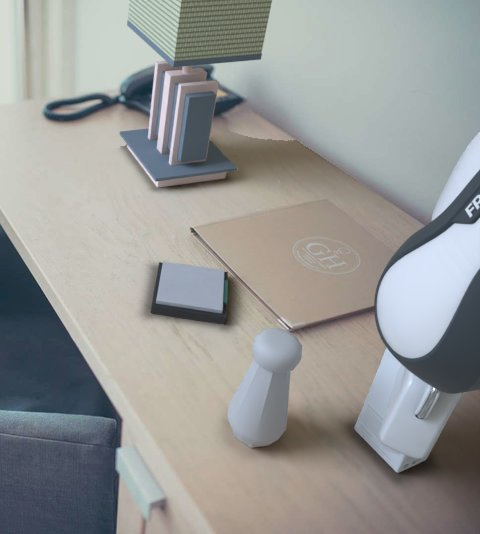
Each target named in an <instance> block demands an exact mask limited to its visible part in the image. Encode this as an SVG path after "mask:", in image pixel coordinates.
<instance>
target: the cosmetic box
mask: <svg viewBox="0 0 480 534" xmlns="http://www.w3.org/2000/svg"><path fill="white" fill-rule="evenodd" d="M400 366H401V363H400V362H399V361H398V360H397V359H396V358H395V357H394V356H393V355H392V354H391V352H390V351H389V350H388V349H387V347H386V346H385V350H384V353H383V355H382V357H381V360H380V362H379V365H378V367H377V370H376V373H375V375H374V378H373V380H372V382H371V385H370V388H369V390H368V392H367V395H366V397H365V400H364V402H363V404H362V408H361V410H360V412H359V415H358V418H357V420H356V422H355V425H354V427H353V429H354V431H355V432H356V433H357V434H358V435H359V436H360V437H361V438H362V439H363V440H364V441H365V442H366V443H367V444H368V445H369V446H370V447H371V448H372V449H373V450H374V451H375V452H376V453H377V454H378V455H379V456H380V457H381V458H382V459H383V461H385V462H386V464H387V465H389V466H390V467H391V469H392V470H393V471H394V472H395V473H396V474H399V473H401V472H403V471H405V470H408V469H410V468H412V467H415V466H416V465H419V464H421V463H422V462H425V461H427V459H428V458H429V456H430V454H431V452H432V450H433V448H434V446H435V445H436V443H437V441H438V439H439V438H440V435H441V434H442V432H443V430H444V428H445V426H446V425H447V422H448V421H449V419H450V417H451V415H452V414H453V411H454V409H455V408H456V406H457V404H458V402H459V400H460V399H461V397H462V395H463V393H464V392H462V393H457V396H456V399H455V401H454V404H453V406H452V409H451V411H450V413H449V415H448V417H447V419H446V421H445V423H444V425H443V427H442V429H441V431H440V433H439V435H438V436H437V438H436V440H435V442H434V444H433V446H432V447H431V449H430V451H429V453H428V454H427V455H426V456H425V457H424V458H422V459H415V458H412V457H409V456H406V455H404V454H401V453H400V454H395V453H392V452H390V451H388V450H386V449H383V448H382V447H381V442H380V441H379V433H380V429H381V425H382V422H383V418H384V415H385V412H386V408H387V405H388V401H389V398H390V394H391V391H392V388H393V384H394V381H395V377H396V374H397V371H398V369H399V367H400Z"/></svg>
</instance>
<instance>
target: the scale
mask: <svg viewBox="0 0 480 534" xmlns="http://www.w3.org/2000/svg"><path fill="white" fill-rule="evenodd" d="M228 276H229V272H228V271H225V269H219V268H212V267H205V266H198V265H190V264H184V263H178V262H170V261H162V262H160V261H159V262H158V267H157V271H156V278H155V283H154V289H153V293H152V300H151V306H150V314H153V315H154V314H155V315H161V316H167V317H174V318H181V319H186V320H194V321H200V322H205V323H206V322H207V323H213V324H219V325H225V323H226V321H227V320H226V319H227V306H228V305H227V304H228V292H229V291H228V288H229V279H228V278H229V277H228Z"/></svg>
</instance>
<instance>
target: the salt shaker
mask: <svg viewBox="0 0 480 534" xmlns="http://www.w3.org/2000/svg"><path fill="white" fill-rule="evenodd" d="M251 354H252V357H253V361H252V362H251V364H250V366H249V367H248V369H247V371H246V373H245V375H244V377H243V378H242V380H241V381H240V384H239V386H238V387H237V389H236V391H235V392H234V394H233V396H232V397H231V400H230V401H229V403H228V407H227V420H228V422H229V425H230V428H231V430H232V433H233V437H234V438H235V439H236V440H238V441H239V442H241V443H242V444H244V445H246V446H247V447H249V448H250V449H254V448H260V447H267V446H270V445H271V444H273V443H275V442H277V441H278V440H280V438H281V436H283V434H284V432H285V431H286V430H287V427H288V426H287V425H288V413H289V412H288V411H289V400H290V399H289V398H290V385H291V384H290V383H291V372H292V371H294V370H295V369H296V368H297V366H298V365H299V364H300V362H301V360H302V358H303V357H302V354H303V344H302V343H301V341H300V340H299V338H298V337H297V336H296V335H294V334H293V333H292V332H291V331H289V330H286V329H283V328H281V327H280V328H278V327H269V328H266V329H263V330H260V332H259V333H258V334H257V335H255V337H254V339H253V343H252V349H251Z"/></svg>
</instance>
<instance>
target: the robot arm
mask: <svg viewBox="0 0 480 534" xmlns="http://www.w3.org/2000/svg"><path fill="white" fill-rule="evenodd" d="M373 304H374V305H373V312H374V320H375V325H376V329H377V333H378V335H379V338H380V339H381V341H382V343H383V345H384V346H385V348H386V347H387V349H388V350H389V351H390V352H391V354H392V355H393V356H394V357H395V358H396V359H397V360H398V361H399V362H400V363H401V366H400V367H399V369H398V371H397V374H396V377H395V381H394V384H393V388H392V391H391V394H390V398H389V401H388V405H387V408H386V412H385V415H384V418H383V422H382V425H381V429H380V433H379V441H380V442H381V447H382V448H383V449H386V450H388V451H390V452H392V453H395V454H400V453H401V454H404V455H406V456H409V457H412V458H415V459H422V458H424V457H425V456H426V455H427V454H428V453H429V451H430V449H431V447H432V446H433V444H434V442H435V440H436V438H437V436H438V435H439V433H440V431H441V429H442V427H443V425H444V423H445V421H446V419H447V417H448V415H449V413H450V411H451V409H452V406H453V404H454V401H455V399H456V396H457V393H462V392H463V393H468V392H475V391H479V390H480V131H479V132H478V133H477V134H476V135H475V136H474V137H473V138H472V140H471V141H470V142H469V144H468V145H467V147H466V148H465V149H464V151H463V152H462V154H461V156H460V157H459V158H458V160H457V162H456V164H455V166H454V168H452V171H451V173H450V175H449V177H448V178H447V181H446V183H445V185H444V187H443V189H442V191H441V193H440V195H439V198H438V200H437V201H436V204H435V207H434V209H433V211H432V216H431V221H430V222H429V223H427V224H425V226H422V228H420V229H418V230H417V231H415V232H414V233H413V234H412V235H410V236H409V237H407V239H406V240H405V241H404V242H403V243H402V244H401V246H399V248H398V249H397V250H396V251H395V252H394V253H393V255H392V256H391V258H390V259H389V261H388V262H387V264H386V265H385V267H384V270H383V271H382V273H381V275H380V277H379V279H378V281H377V285H376V288H375V293H374V301H373ZM463 393H462V394H463ZM439 436H440V435H439Z"/></svg>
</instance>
